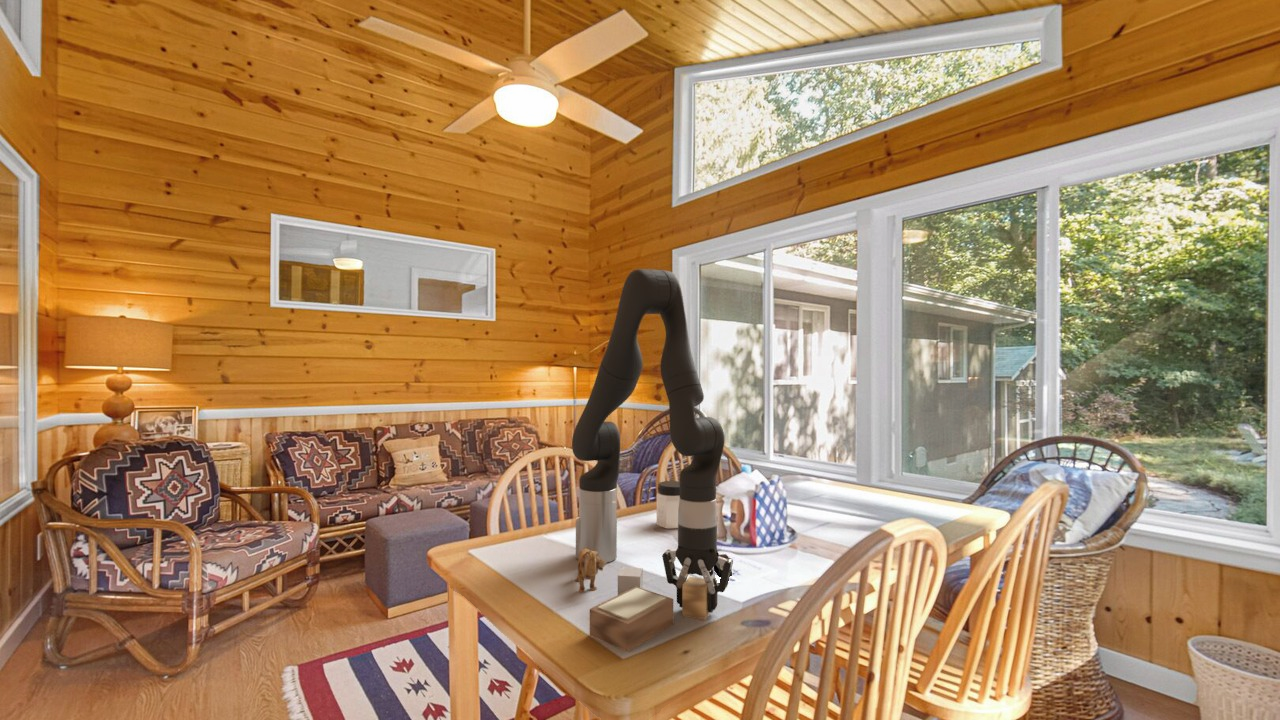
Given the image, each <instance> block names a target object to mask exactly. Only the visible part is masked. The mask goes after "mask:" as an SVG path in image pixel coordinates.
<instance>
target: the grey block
mask: <svg viewBox="0 0 1280 720" xmlns="http://www.w3.org/2000/svg"><path fill="white" fill-rule="evenodd" d="M643 571H644V569H643V568H641V567H623V566H622V567H620V569H619V571H618V574H617V595H620V594H622V593H624V592H626V591H628V590H630V589H632V588H634V587H639V588H642V589H644V588H643V582H644V581H643V578H644V573H643Z"/></svg>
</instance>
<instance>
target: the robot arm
mask: <svg viewBox="0 0 1280 720" xmlns="http://www.w3.org/2000/svg"><path fill="white" fill-rule="evenodd" d="M685 310H686V309H685V302H684V296H683V291H682V287H681V284H680V282H679V278H678V277H677V276H676V274H675V273H673V272H672V271H669V270H666V269H664V270H663V269H649V268H645V269H644V268H637V269H634V270H632V271H631V272H629V274H628V275H627V277H626V279H625V282H624V284H623V286H622V289H621V294H620V299H619V303H618V307H617V312H616V315H615V320H614V323H613V327H612V330H611V334H610V337H609V340H608V343H607V346H606V350H605V352H604V355H603V357H602V360H601V361H600V365H599V367H598V370H597V374H596V377H595V380H594V383H593V386H592V389H591V391H590V395H589V398H588V400H587V402H586V405H585V407H584V409H583V411H582V413H581V415H580V418H579V419H578V421H577V423H576V426H575V428H574V431H573V434H572V439H571V440H572V441H571V449H572V453H573V455H574V457H575V458H576V459H577V460H579V461H582V462H593V461H597V462H596V464H595V465H594V466H593V467H592V468H591V469H590V470H588V471H586V472H584V473H582V474H581V475H580V476H579V482H578V487H579V490H578V495H579V496H578V497H579V498H578V499H579V501H578V512H579V514H578V516H579V517H578V518H576V520H575V559H577V560H578V556H579V553H580V551H581V550H583V549H589V550H590V551H596V552H598V556H599V557H600V558H601V559H602V560H603V561H604V562H606V564H607V563H610V562H612V561H614V560H616V559H617V557H618V556H617V555H618V554H617V551H618V550H617V549H618V548H617V546H618V545H617V542H618V540H617V539H618V537H617V534H618V530H617V529H618V524H617V522H618V516H617V515H618V504H617V503H618V500H617V499H618V488H617V487H618V480H619V475H620V462H621V458H620V456H621V435H620V431H619V430H620V429H619V427H618V426H617V424H616V423H615V422H613V421H608V420H607V419H608V417H609V416H610V415H612V413H613V412H615V411H616V409H618V408H619V407H620V406H622V405H623V403H625V402H626V401H627V400H628V399H629V398H630V397H631V395H632V394H633V393H634V391H635V389H636V387H637V384H638V381H639V379H640V376H641V374H642V371H643V366H644V363H643V362H644V361H643V355H642V352H641V348H640V345H639V341H638V332H639V329H640V325H641V322H642V321H643V317H644V316H645V315H660V317H661V320H662V322H663V325H664V330H665V338H664V345H663V350H662V354H661V359H660V376H661V380H662V383H663V388H664V390H665V393H666V397H667V400H668V407H669V408H668V413H669V435H670V439H671V440H670V441H671V443H672V445H673V447H674V448H675V450H676V451H677V452H678V453H679V454H681V455H682V456H684V457H693V458H692V461H691V463H689V464H688V465H687V466H685V467H684V468H682V469H681V470H680V473H679V482H680V498H679V507H678V528H677V548H676V550H671V549H666V551H664V552H663V554H662V555H661V557H662V563H663V566H664V571H665V577H666V581H667V584H670V585H671V584H672V585H674V586H675V588H676V604H678V605H679V608H682V588H683V584H684V582H685V581H686V580H687V579H688V578H689V575H697V576H701V577H703V578H702V579H704V581H705V582H706V583H707V586H708V589H709V593H708V612H710V613H713V611H715V610H716V609H717V607H718V593H724V592H725V591H726V588H727V587H728V584H729V583H728V581H729V577H730V573H731V569H732V570H733V564H734V560H733V558H731V557H729V558H728V559H726V558H723V557H720V556H719V555H720V553H719V552H718V506H717V499H716V498H717V474H718V471H719V467H720V464H721V460H722V456H723V452H724V447H725V432H724V430H723V427H722V424H721V423H720V422H719V421H718V420H717V419H715V417H710V416H705V417H703V416H702V417H696V415H695V407H697V406H700V404H702V403H703V402H704V398H705V395H704V391H703V388H702V384H701V381H700V379H699V373H698V371H697V369H696V365H695V361H694V358H693V354H692V350H691V344H690V338H689V331H688V323H687V318H686V317H687V315H686V311H685ZM606 420H607V421H606ZM676 559H677V560H678V562H679V563H680V564H681V566H682V567H681V570H680V572H679V575H678V576H677V571H676V565H675V561H676ZM717 562H718V563H719V564H720V569H721V570H723V571H722V575H721V579H720V583H717V580H716V578H715V572H714V569H713V567H714V566H715V564H716V563H717ZM710 613H709V614H710Z"/></svg>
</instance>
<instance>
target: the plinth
mask: <svg viewBox="0 0 1280 720" xmlns="http://www.w3.org/2000/svg"><path fill="white" fill-rule="evenodd" d="M672 625H674V598H672V597H668V596H666V595H663V594H660V593H657V592H654V591H650V590H648V589H645V588H643V589H642V588H639V587H634V588H632V589H630V590H628V591H626V592H624V593H622V594H620V595H618V594H617V595H615V596H614V597H611V598H609V599H607V600H605V601H603V602H601V603H599V604H597V605H595V606H593V607H591V608H589V636H590V637H592V638H594V639H597V640H600V641H601V642H604V643H606V644H609V645H610V646H614V647H615V648H618V649H620V650H623V651H624V652H628V653H629V652H630V651H632V650H633V649H636V648H637V647H639V646H640V645H642V644H644V643H645V642H646V641H648V640H650V639H652V638H653V637H655V636H656V635H658V634H660V633H662V632H663V631H665V630H666V629H668V628H669V627H671V626H672Z"/></svg>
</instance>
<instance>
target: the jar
mask: <svg viewBox="0 0 1280 720" xmlns="http://www.w3.org/2000/svg"><path fill="white" fill-rule="evenodd" d="M679 498H680V480H679V481H677V480H665V481H664V480H663V481H659V482H658V483H657V493H656V526H659V527H662V528H664V529H666V530H667V529H678V507H679Z"/></svg>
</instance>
